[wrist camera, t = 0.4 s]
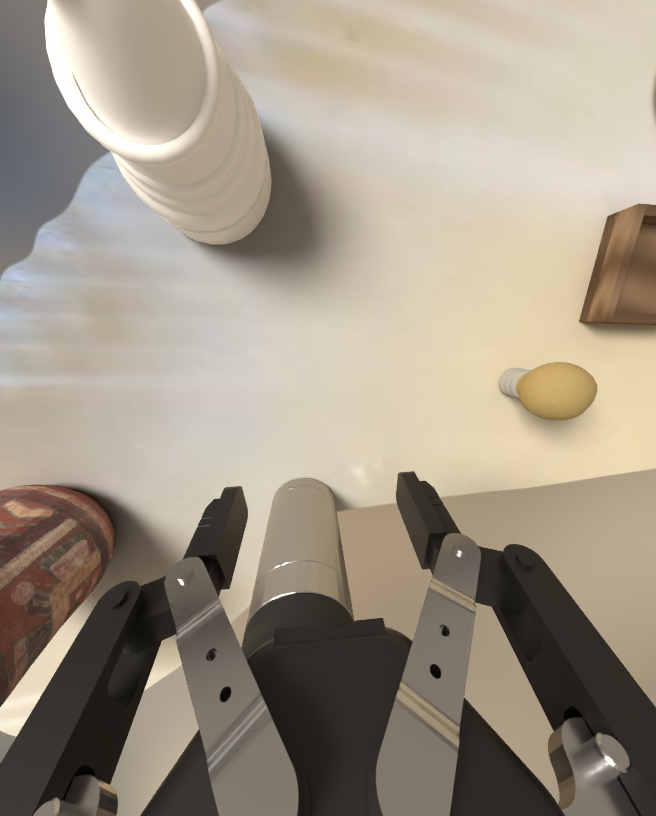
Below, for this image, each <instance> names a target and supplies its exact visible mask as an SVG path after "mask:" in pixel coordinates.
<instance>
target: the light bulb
mask: <svg viewBox="0 0 656 816" xmlns="http://www.w3.org/2000/svg"><path fill="white" fill-rule="evenodd" d="M499 388H500V390H501V392H502V393H504V394H505V395H509V396H512V397H516V398H519V399H521V402H522V403H523V405H524V406H525V408H526V409H527V410H528V411H530V412H531V413H533V414H534V415H536V416H539V417H541V418H545V419H550V420H566V419H572V418H574V417H577V416H578V415H580V414H582V413H583V412H584V411H585V410H586V409H587V408H588V407H589V406H590V405H591V404H592V402H593V401H594V398H595V396H596V393H597V384H596V382H595V380H594V378H593V377H592V376H591V375H590V374H589V373H588V372H587V371H586V370H584V369H583V368H581V367H579V366H577V365H574V364H571V363H565V362H555V363H548V364H545V365H542V366H539V367H537V368H535V369H533V370H526V369H519V368H512V369H509V370H507V371H506V372H504V373H503V375H502V376H501V378H500V380H499Z"/></svg>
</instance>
